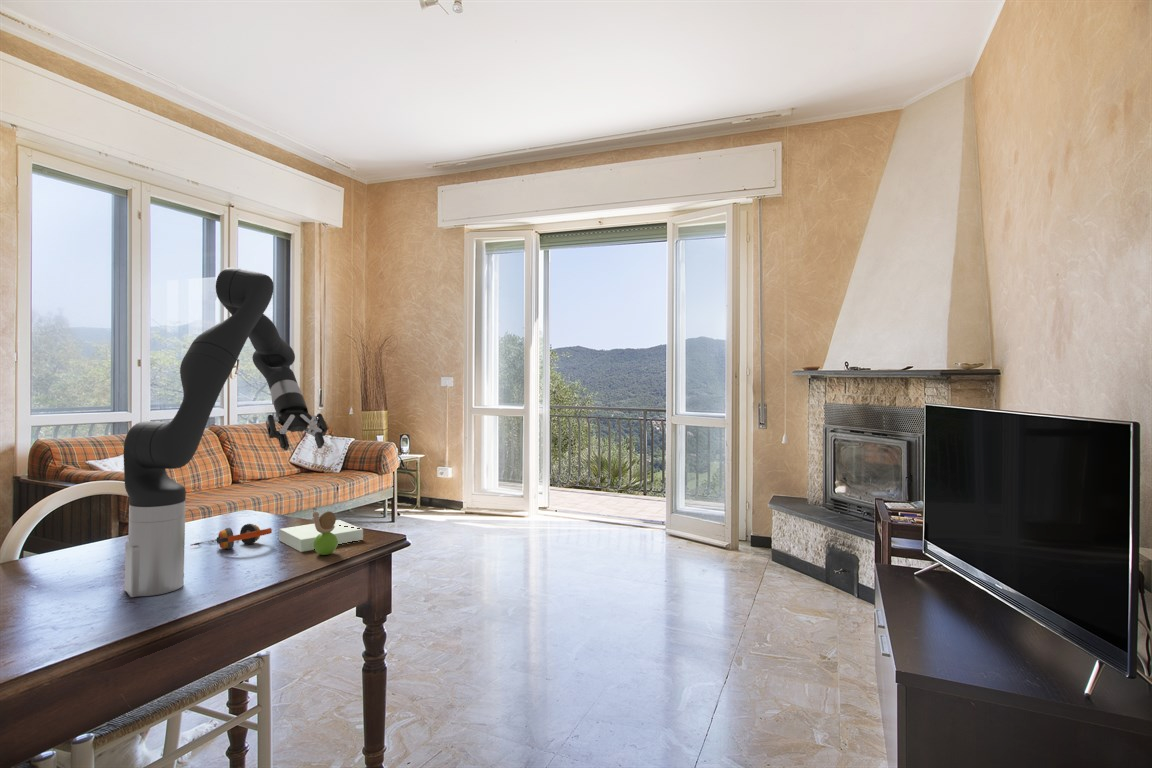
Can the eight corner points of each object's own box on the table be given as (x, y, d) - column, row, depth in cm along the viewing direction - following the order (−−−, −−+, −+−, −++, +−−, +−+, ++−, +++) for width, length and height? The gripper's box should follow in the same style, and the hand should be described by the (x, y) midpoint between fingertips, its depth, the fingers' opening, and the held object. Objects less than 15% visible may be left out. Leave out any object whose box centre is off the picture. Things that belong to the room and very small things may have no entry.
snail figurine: (304, 556, 143) (305, 506, 143) (327, 550, 149) (328, 501, 149) (320, 560, 141) (321, 509, 141) (342, 553, 146) (343, 504, 146)
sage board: (300, 552, 147) (301, 539, 147) (279, 540, 156) (279, 528, 156) (362, 540, 158) (363, 529, 158) (339, 530, 168) (339, 519, 168)
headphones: (247, 523, 164) (288, 516, 153) (249, 542, 163) (290, 537, 153) (181, 535, 150) (221, 529, 139) (183, 556, 149) (223, 552, 139)
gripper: (263, 391, 155) (279, 439, 147) (319, 391, 165) (336, 436, 157) (256, 410, 159) (270, 458, 151) (311, 409, 169) (327, 454, 161)
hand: (304, 447), depth 154 cm, fingers open, 8 cm apart
